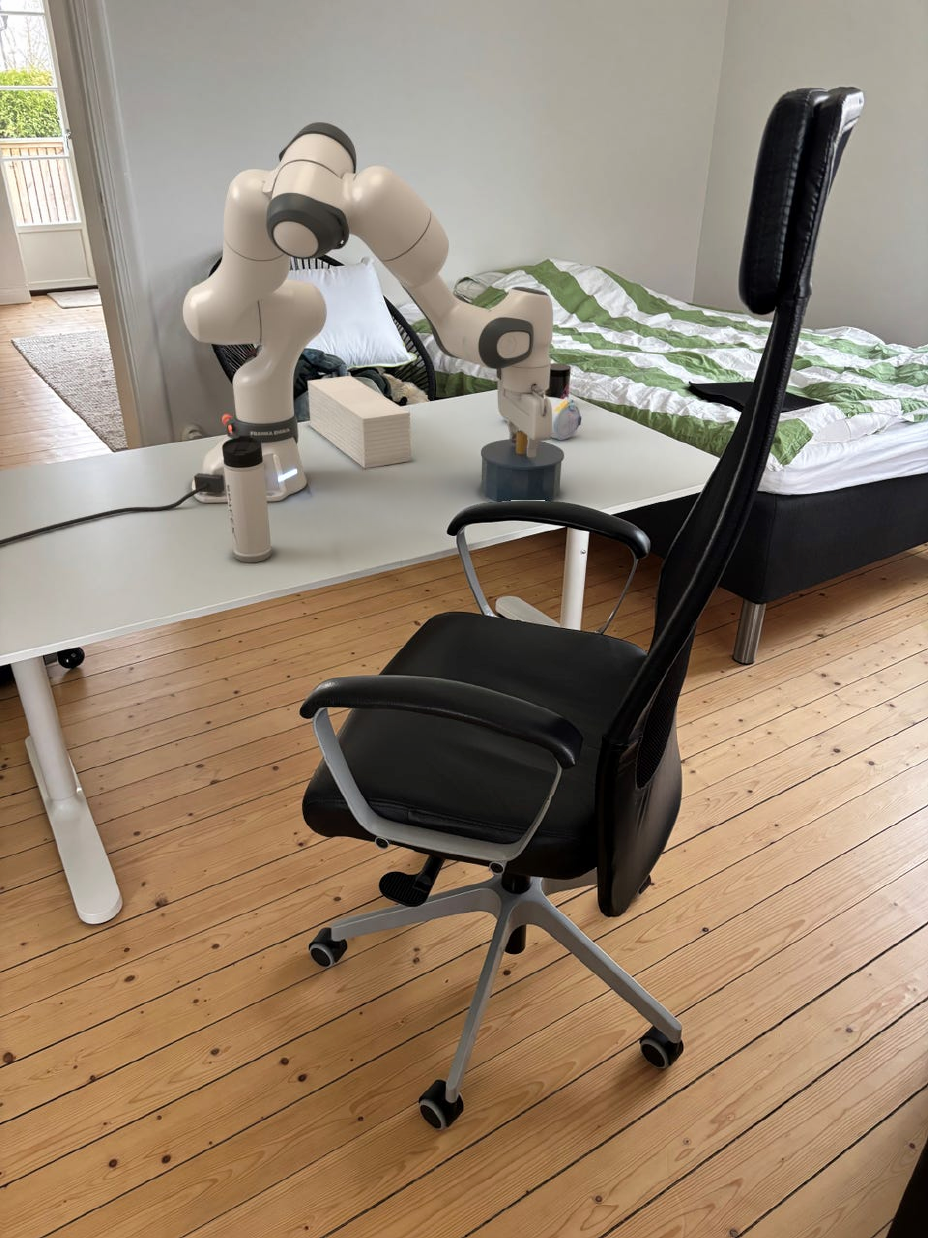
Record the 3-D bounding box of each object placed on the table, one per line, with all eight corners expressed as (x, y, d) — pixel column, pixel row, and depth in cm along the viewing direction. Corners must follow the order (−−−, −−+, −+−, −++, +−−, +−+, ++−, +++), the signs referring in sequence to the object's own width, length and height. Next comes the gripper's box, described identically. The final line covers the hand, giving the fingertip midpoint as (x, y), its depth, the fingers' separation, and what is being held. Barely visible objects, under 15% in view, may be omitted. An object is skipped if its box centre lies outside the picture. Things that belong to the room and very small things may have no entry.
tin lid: (496, 476, 172) (497, 449, 170) (470, 448, 186) (470, 422, 183) (576, 468, 176) (579, 442, 174) (545, 441, 190) (547, 416, 187)
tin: (496, 511, 176) (497, 471, 172) (471, 483, 189) (472, 445, 185) (570, 503, 180) (574, 464, 177) (541, 476, 193) (544, 439, 189)
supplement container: (554, 413, 232) (557, 371, 227) (535, 406, 237) (538, 365, 232) (573, 408, 236) (576, 367, 231) (554, 402, 241) (557, 361, 236)
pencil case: (582, 437, 216) (585, 397, 211) (556, 444, 211) (559, 403, 206) (519, 416, 230) (521, 377, 225) (493, 422, 225) (495, 383, 220)
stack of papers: (410, 461, 200) (410, 412, 195) (364, 468, 195) (363, 418, 190) (352, 420, 224) (350, 375, 219) (310, 426, 219) (307, 380, 214)
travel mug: (274, 546, 161) (264, 434, 151) (268, 563, 155) (257, 448, 145) (238, 546, 161) (225, 434, 151) (231, 563, 155) (217, 447, 145)
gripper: (563, 391, 166) (557, 465, 173) (523, 363, 183) (519, 431, 190) (530, 393, 164) (526, 468, 171) (492, 365, 181) (490, 434, 188)
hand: (522, 448), depth 180 cm, fingers open, 7 cm apart
